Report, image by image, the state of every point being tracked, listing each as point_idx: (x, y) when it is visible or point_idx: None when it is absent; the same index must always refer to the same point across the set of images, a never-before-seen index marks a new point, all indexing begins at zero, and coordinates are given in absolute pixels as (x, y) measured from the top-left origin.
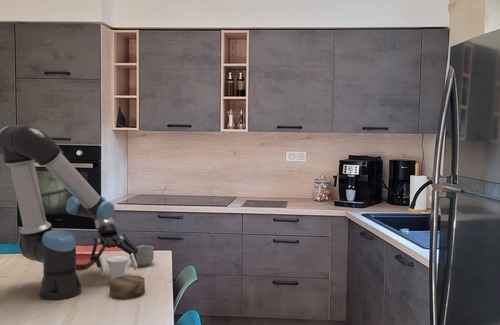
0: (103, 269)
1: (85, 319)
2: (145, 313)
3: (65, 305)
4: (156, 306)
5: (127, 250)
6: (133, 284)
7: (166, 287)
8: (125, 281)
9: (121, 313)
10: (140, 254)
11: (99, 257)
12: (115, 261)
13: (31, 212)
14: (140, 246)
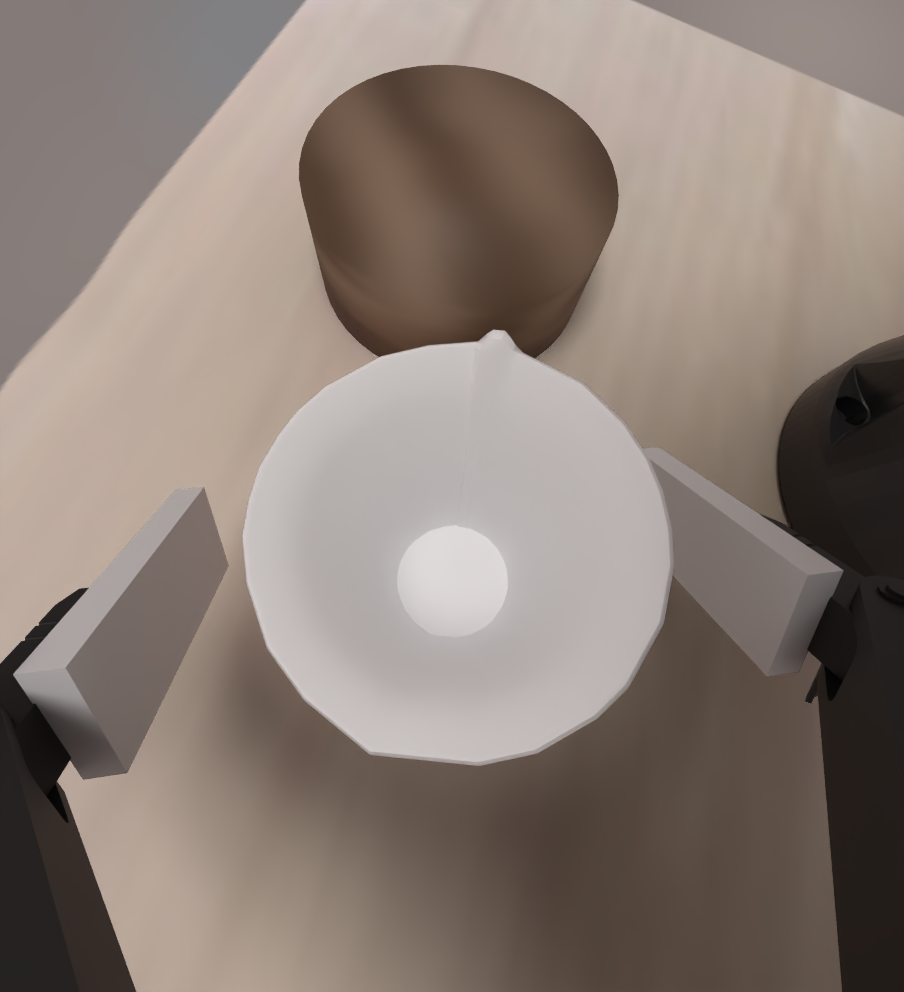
0: (671, 461)
1: (739, 54)
2: None
3: (857, 258)
4: (370, 22)
5: (58, 847)
6: (445, 72)
7: (136, 243)
8: (484, 156)
9: (566, 34)
10: None
11: (828, 726)
12: (542, 366)
13: None
14: None
